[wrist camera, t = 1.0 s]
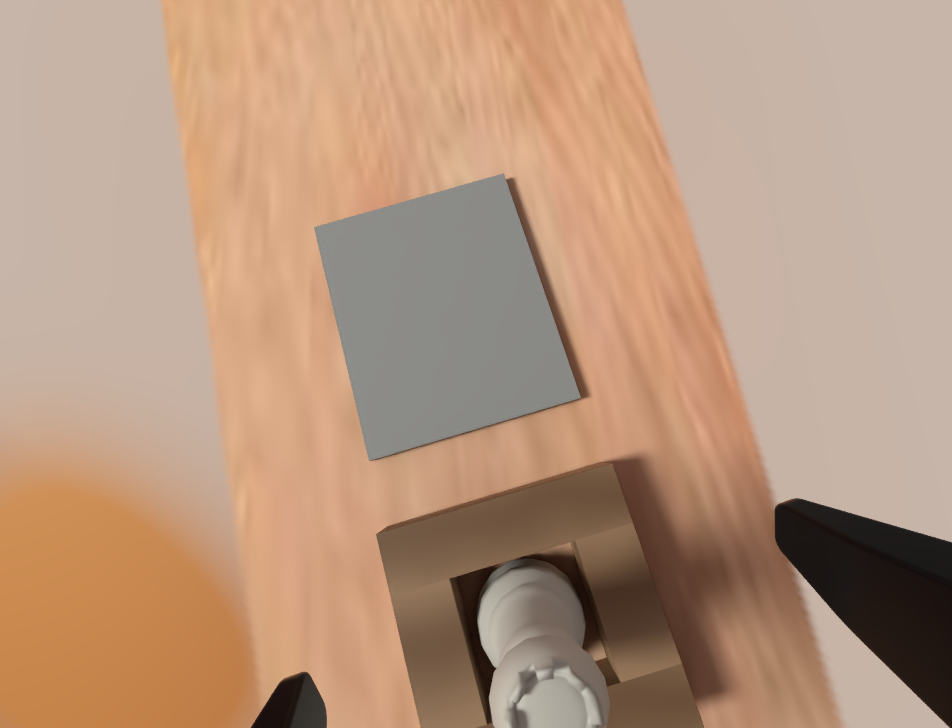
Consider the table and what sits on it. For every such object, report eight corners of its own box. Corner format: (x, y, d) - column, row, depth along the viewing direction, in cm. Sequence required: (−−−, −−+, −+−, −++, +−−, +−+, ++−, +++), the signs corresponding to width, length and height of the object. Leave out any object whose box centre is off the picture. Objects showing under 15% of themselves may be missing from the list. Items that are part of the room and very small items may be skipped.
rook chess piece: (528, 532, 19) (553, 586, 12) (602, 613, 19) (682, 728, 11) (454, 607, 19) (428, 716, 11) (528, 693, 18) (555, 874, 10)
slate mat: (578, 398, 21) (580, 398, 20) (372, 460, 20) (369, 460, 20) (503, 179, 23) (503, 173, 22) (317, 232, 23) (314, 227, 22)
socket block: (683, 703, 18) (706, 734, 16) (447, 778, 18) (441, 818, 16) (600, 462, 20) (612, 463, 18) (387, 526, 20) (376, 534, 18)
